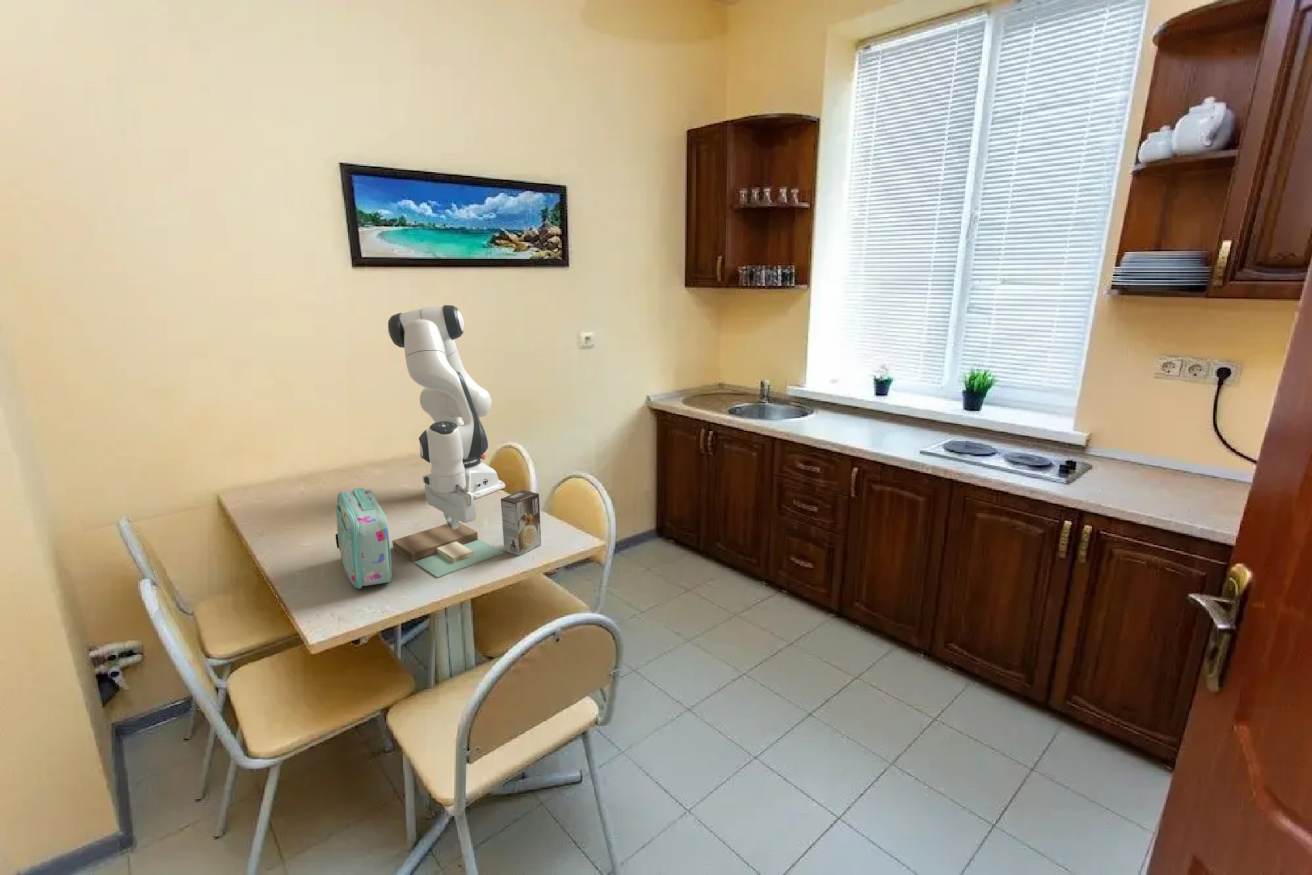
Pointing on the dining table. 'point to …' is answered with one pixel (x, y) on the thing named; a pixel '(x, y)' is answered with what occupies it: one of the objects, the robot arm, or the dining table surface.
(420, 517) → the dining table surface
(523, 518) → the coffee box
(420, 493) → the dining table surface
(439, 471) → the robot arm
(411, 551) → the walnut deck
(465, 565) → the sage mat
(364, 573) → the lunch box
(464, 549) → the birch tile
